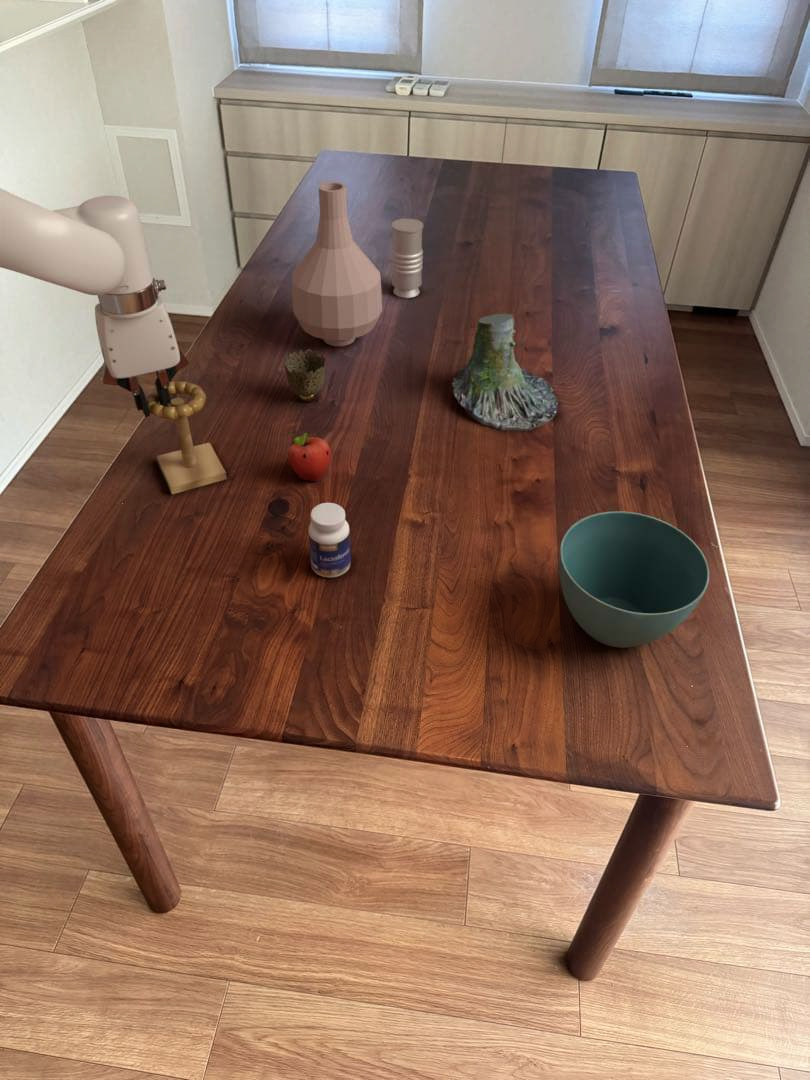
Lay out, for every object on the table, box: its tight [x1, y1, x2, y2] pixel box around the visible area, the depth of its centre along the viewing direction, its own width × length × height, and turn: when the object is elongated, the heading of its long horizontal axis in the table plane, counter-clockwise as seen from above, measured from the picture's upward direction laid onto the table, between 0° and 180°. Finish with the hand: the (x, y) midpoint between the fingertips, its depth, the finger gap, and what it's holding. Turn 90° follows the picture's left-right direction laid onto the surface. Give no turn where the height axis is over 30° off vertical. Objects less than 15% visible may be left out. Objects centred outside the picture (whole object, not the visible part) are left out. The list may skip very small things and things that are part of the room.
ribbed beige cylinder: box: [390, 218, 424, 299], centre depth 173 cm, size 7×7×15 cm
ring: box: [145, 380, 207, 420], centre depth 120 cm, size 9×9×2 cm
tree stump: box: [451, 313, 559, 431], centre depth 142 cm, size 18×20×18 cm
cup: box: [282, 349, 327, 403], centre depth 143 cm, size 8×7×8 cm
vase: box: [291, 181, 383, 347], centre depth 152 cm, size 18×18×30 cm
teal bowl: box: [558, 510, 710, 649], centre depth 103 cm, size 18×18×12 cm
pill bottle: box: [307, 502, 352, 579], centre depth 111 cm, size 6×6×10 cm
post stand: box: [155, 397, 228, 495], centre depth 125 cm, size 9×9×14 cm
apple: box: [287, 432, 332, 482], centre depth 125 cm, size 8×7×10 cm
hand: (154, 409), depth 120 cm, fingers closed on ring, 2 cm apart
